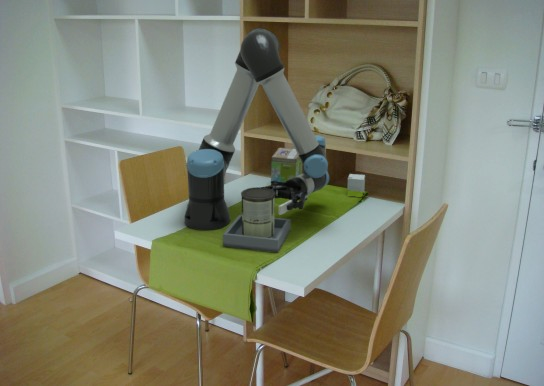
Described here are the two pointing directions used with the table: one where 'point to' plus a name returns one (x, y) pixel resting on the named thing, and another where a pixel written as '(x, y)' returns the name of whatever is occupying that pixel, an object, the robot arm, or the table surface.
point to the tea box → (285, 166)
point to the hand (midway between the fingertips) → (261, 205)
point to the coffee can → (258, 212)
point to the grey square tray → (237, 240)
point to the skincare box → (356, 182)
